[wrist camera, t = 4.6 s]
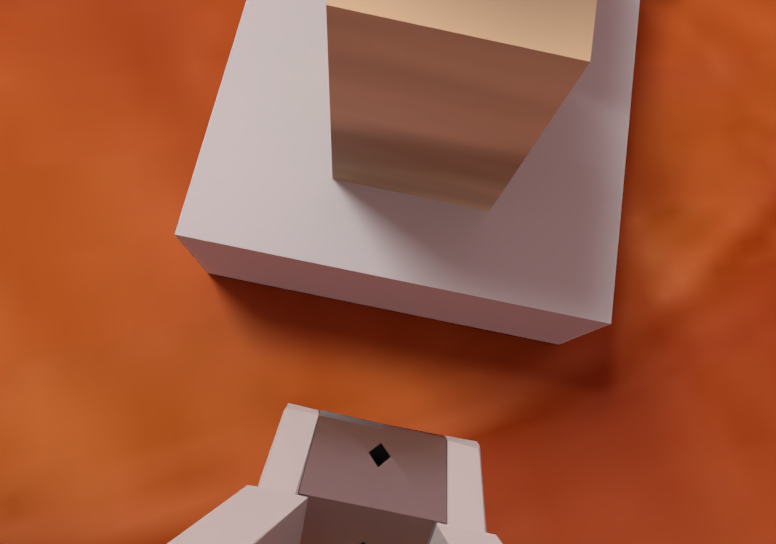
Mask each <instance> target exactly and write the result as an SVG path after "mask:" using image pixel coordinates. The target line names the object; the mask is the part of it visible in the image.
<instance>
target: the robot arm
mask: <svg viewBox="0 0 776 544" xmlns="http://www.w3.org/2000/svg"><path fill="white" fill-rule="evenodd" d="M167 544H503V543H502V542H501V540H500V539H499V537H498V536H497V535H494V534H490V533H487V530H486V517H485V504H484V491H483V478H482V465H481V452H480V446H479V444H478V442H476V441H471V440H466V439H461V438H455V437H450V436H445V437H444V436H443V435H438V434H433V433H428V432H423V431H418V430H412V429H407V428H402V427H397V426H392V425H387V424H380V423H376V422H372V421H367V420H363V419H359V418H354V417H350V416H345V415H341V414H337V413H332V412H328V411H324V410H321V412H320V410H316V409H311V408H307V407H303V406H299V405H294V404H290V403H288V405H287V406H286V408H285V410H284V412H283V415H282V418H281V421H280V423H279V426H278V429H277V432H276V435H275V438H274V441H273V444H272V446H271V449H270V452H269V455H268V458H267V461H266V464H265V467H264V470H263V472H262V475H261V478H260V481H259V484H258V487H257V486H251V485H247V486H245V487H244V488H242V489H241V490H240V491H238V492H237V493H236V494H234V495H233V496H232V497H230V498H229V499H227V500H226V501H225V502H223V503H222V504H221V505H219V506H218V507H216V508H215V509H214V510H212V511H211V512H210V513H208V514H207V515H206V516H204V517H203V518H201V519H200V520H199V521H197V522H196V523H195V524H193V525H192V526H190V527H189V528H188V529H186V530H185V531H184V532H182V533H181V534H179V535H178V536H177V537H175V538H174V539H173V540H171V541H170V542H169V543H167Z"/></svg>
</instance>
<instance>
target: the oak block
mask: <svg viewBox="0 0 776 544" xmlns="http://www.w3.org/2000/svg"><path fill="white" fill-rule="evenodd" d="M596 6H597V0H327V4H326V14H327V41H328V69H329V96H330V123H331V151H332V178H333V179H336V180H341V181H346V182H351V183H356V184H360V185H365V186H370V187H375V188H380V189H384V190H389V191H394V192H399V193H404V194H408V195H413V196H418V197H423V198H428V199H432V200H437V201H442V202H447V203H452V204H456V205H461V206H466V207H471V208H475V209H480V210H485V211H490V210H491V208H492V207H493V205H494V204H495V202H496V201H497V200H498V198H499V197H500V195H501V194H502V192H503V191H504V189H505V188H506V186H507V185H508V183H509V182H510V180H511V179H512V177H513V176H514V174H515V173H516V171H517V170H518V168H519V167H520V165H521V164H522V162H523V161H524V159H525V158H526V156H527V155H528V153H529V152H530V150H531V149H532V147H533V146H534V145H535V143H536V142H537V140H538V139H539V137H540V136H541V134H542V133H543V131H544V130H545V128H546V127H547V125H548V124H549V122H550V121H551V119H552V118H553V116H554V115H555V113H556V112H557V110H558V109H559V107H560V106H561V104H562V103H563V101H564V100H565V98H566V97H567V95H568V94H569V92H570V91H571V90H572V88H573V87H574V85H575V84H576V82H577V81H578V79H579V78H580V76H581V75H582V73H583V72H584V70H585V69H586V67H587V66H588V64H589V63H590V59H591V50H592V41H593V32H594V23H595V15H596Z"/></svg>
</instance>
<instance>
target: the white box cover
mask: <svg viewBox="0 0 776 544" xmlns="http://www.w3.org/2000/svg"><path fill="white" fill-rule="evenodd" d="M326 4H327V0H246V3H245V7H244V10H243V13H242V16H241V20H240V23H239V26H238V30H237V33H236V36H235V39H234V43H233V46H232V49H231V52H230V56H229V59H228V62H227V65H226V69H225V72H224V75H223V78H222V82H221V85H220V88H219V91H218V95H217V98H216V101H215V104H214V108H213V111H212V114H211V117H210V121H209V124H208V127H207V130H206V134H205V137H204V140H203V144H202V147H201V150H200V153H199V157H198V160H197V163H196V166H195V170H194V173H193V176H192V179H191V183H190V186H189V189H188V192H187V196H186V199H185V202H184V205H183V209H182V212H181V215H180V218H179V222H178V225H177V228H176V231H175V236H176V237H177V238H178V239H179V240H180V241H181V243H182V244H183V245H184V246H185V247H186V248H187V250H188V251H189V252H190V253H191V254H192V256H193V257H194V258H195V259H196V260H197V261H198V263H199V264H200V265H201V266H202V267H203V268H204V270H205V271H206V272H207V273H210V274H215V275H219V276H224V277H229V278H234V279H239V280H244V281H249V282H254V283H259V284H264V285H269V286H273V287H278V288H283V289H288V290H293V291H298V292H303V293H308V294H313V295H318V296H322V297H327V298H332V299H337V300H342V301H347V302H352V303H357V304H362V305H367V306H372V307H376V308H381V309H386V310H391V311H396V312H401V313H406V314H411V315H416V316H421V317H426V318H430V319H435V320H440V321H445V322H450V323H455V324H460V325H465V326H470V327H475V328H479V329H484V330H489V331H494V332H499V333H504V334H509V335H514V336H519V337H524V338H529V339H533V340H538V341H543V342H548V343H553V344H558V345H560V344H562V343H565V342H567V341H570V340H572V339H575V338H577V337H580V336H582V335H585V334H587V333H590V332H592V331H595V330H597V329H600V328H602V327H605V326H607V325H610V324H611V320H612V309H613V298H614V286H615V275H616V264H617V253H618V241H619V230H620V219H621V208H622V197H623V185H624V174H625V163H626V152H627V140H628V129H629V118H630V107H631V96H632V84H633V73H634V62H635V51H636V39H637V28H638V17H639V6H640V0H597V6H596V15H595V23H594V32H593V41H592V50H591V59H590V63H589V64H588V66H587V67H586V69H585V70H584V72H583V73H582V75H581V76H580V78H579V79H578V81H577V82H576V84H575V85H574V87H573V88H572V90H571V91H570V92H569V94H568V95H567V97H566V98H565V100H564V101H563V103H562V104H561V106H560V107H559V109H558V110H557V112H556V113H555V115H554V116H553V118H552V119H551V121H550V122H549V124H548V125H547V127H546V128H545V130H544V131H543V133H542V134H541V136H540V137H539V139H538V140H537V142H536V143H535V145H534V146H533V147H532V149H531V150H530V152H529V153H528V155H527V156H526V158H525V159H524V161H523V162H522V164H521V165H520V167H519V168H518V170H517V171H516V173H515V174H514V176H513V177H512V179H511V180H510V182H509V183H508V185H507V186H506V188H505V189H504V191H503V192H502V194H501V195H500V197H499V198H498V200H497V201H496V202H495V204H494V205H493V207H492V208H491V210H490V211H485V210H480V209H475V208H471V207H466V206H461V205H456V204H452V203H447V202H442V201H437V200H432V199H428V198H423V197H418V196H413V195H408V194H404V193H399V192H394V191H389V190H384V189H380V188H375V187H370V186H365V185H360V184H356V183H351V182H346V181H341V180H336V179H333V178H332V151H331V123H330V96H329V69H328V41H327V14H326Z"/></svg>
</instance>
